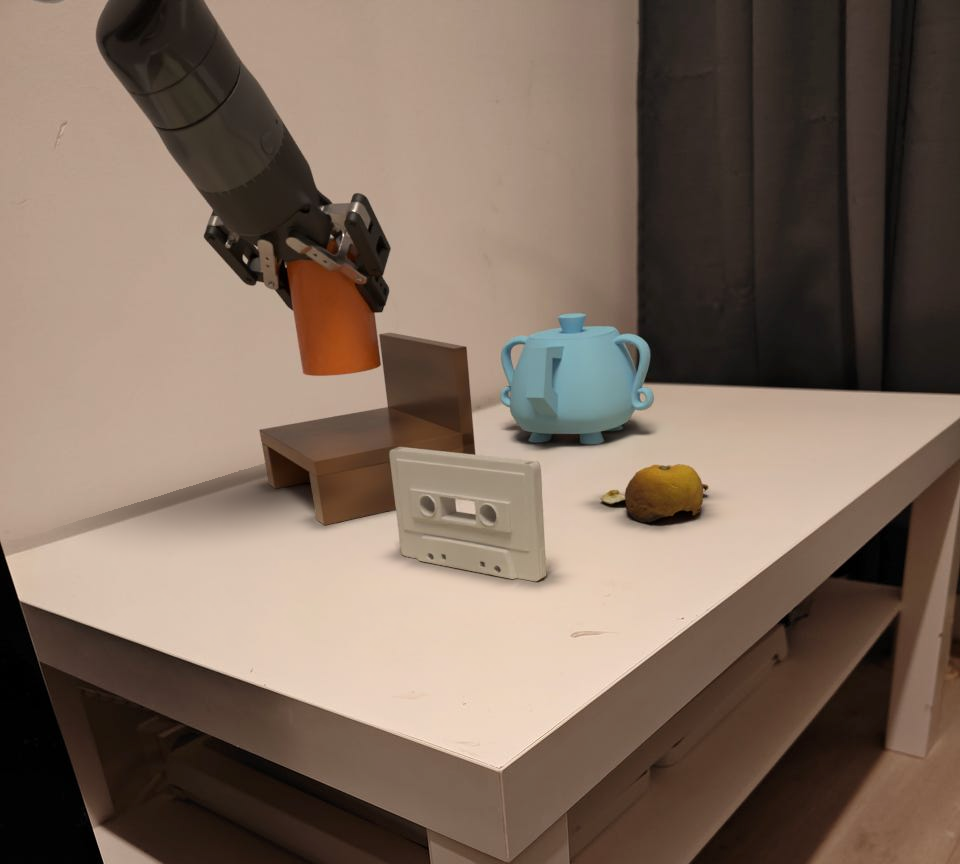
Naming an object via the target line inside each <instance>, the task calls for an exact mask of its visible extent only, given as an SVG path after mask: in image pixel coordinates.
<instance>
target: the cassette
mask: <svg viewBox="0 0 960 864" xmlns="http://www.w3.org/2000/svg"><path fill="white" fill-rule="evenodd" d="M389 456H390V464H391V472H392V481H393V489H394V497H395V506H396V509H395V513H396V521H397V529H398V538H399V546H400V547H399V548H400V553H401V554H402V556H404V557H408V558H412V559H417V561H418V562H424V563H428V564H432V565H433V564H434V565H439V566H444V567H448V568H449V567H450V568H454V569H459V570H464V571H469V572H474V573H479V574H485V575H489V576H496V577H501V578H506V579H511V580H515V579H520V580H525V581H530V582H538V581H539V580H541V579H543V578H545V577H546V576H547V561H546V559H547V557H546V538H545V537H546V536H545V522H544V521H545V519H544V518H545V517H544V502H543V483H542V482H543V481H542V466H541V464H540V462H539V461H536V460H529V459H528V460H527V459H521V458H510V457H501V456H491V455H481V454H475V455H473V454H463V453H454V452H444V451H435V450H425V449H416V448H406V447H398V448H395V449H393V450H391V451H390V453H389ZM457 500H462V501H467V502H474V511H475V513H468V512H463V511H457V502H456V501H457Z"/></svg>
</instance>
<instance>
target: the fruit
mask: <svg viewBox="0 0 960 864" xmlns="http://www.w3.org/2000/svg"><path fill="white" fill-rule="evenodd" d="M708 490H709V485H708V484H705V483H703V481H702V478H701V477H700V475H699V474H698V472H697V471H696V470H695V468H693V467H692V466H690V465H688V464H680V463H677V464H674V465H670V464H667V465H661V464H653V465H651V466H648V467H643V468H642V469H640V470H638V471H637V472H636V473H635V474H634V475H633V477H632V478H631V479H630V480H629V482H628V484H627V486H626V487H625V492H624V494H622V493H621V492H620V491H619V489H612V490H609V491H608V492H606V493H605V494H603V495H602V496H601V497H600V500H601V501H603V502H604V503H606V504H610V505H614V504H615V503H619V502H624V501H625V505H626V506H625V509H626V511H627V512H628V513H629V514H630V515H631V516H632V518H633V519H634V520H635V521H638V522H640V523H652V522H654V521H657V520H658V519H661V518H665V517H666V518H668V517H674V515H675V513H678V512H680V511H684V512H685V511H686V512H692V516H696V515H697V514H699V513H701V510H700V508H701V507H702V505H703V503H704V492H706V491H708Z"/></svg>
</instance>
